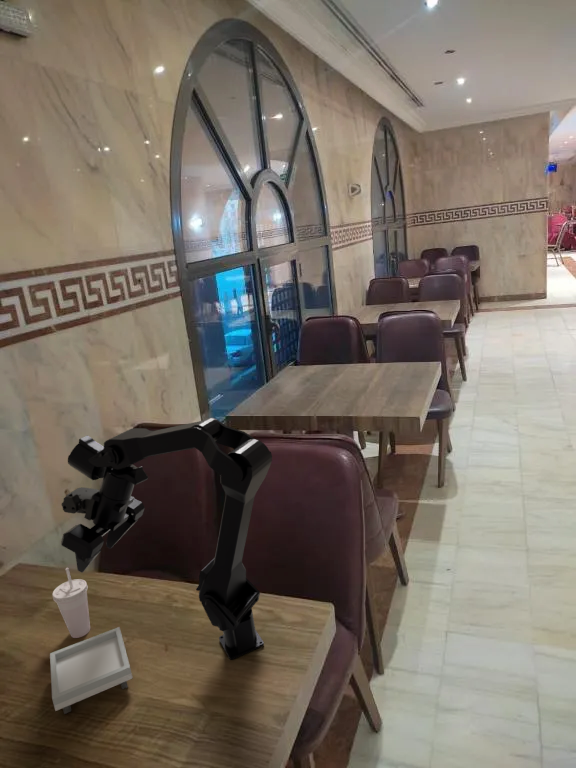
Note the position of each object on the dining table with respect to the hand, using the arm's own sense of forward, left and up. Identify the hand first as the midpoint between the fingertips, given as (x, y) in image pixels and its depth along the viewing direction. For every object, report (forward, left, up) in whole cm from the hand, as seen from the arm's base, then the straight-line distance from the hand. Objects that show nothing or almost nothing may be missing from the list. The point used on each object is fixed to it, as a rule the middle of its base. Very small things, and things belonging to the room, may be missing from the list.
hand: (95, 558), depth 105 cm
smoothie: (+1, +6, -14) cm, 16 cm away
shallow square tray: (-15, +5, -14) cm, 21 cm away
